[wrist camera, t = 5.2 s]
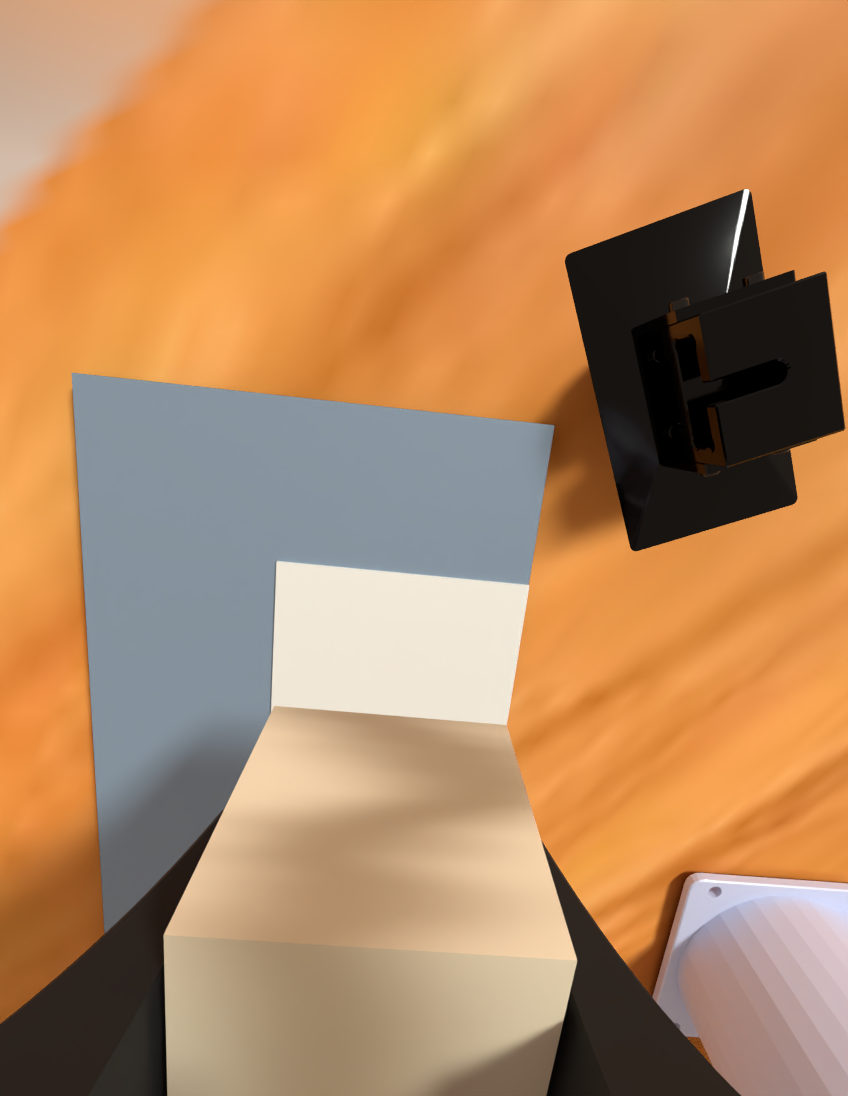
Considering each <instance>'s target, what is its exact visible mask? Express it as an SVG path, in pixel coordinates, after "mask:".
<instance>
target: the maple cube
mask: <svg viewBox="0 0 848 1096" xmlns="http://www.w3.org/2000/svg"><path fill="white" fill-rule="evenodd" d="M576 964H577V958H576V955H575V951H574V948H573V945H572V941H571V938H570V935H569V931H568V928H567V925H566V921H565V918H564V915H563V911H562V908H561V905H560V901H559V898H558V895H557V891H556V888H555V885H554V882H553V878H552V875H551V872H550V868H549V865H548V862H547V858H546V855H545V852H544V848H543V845H542V842H541V838H540V835H539V832H538V828H537V825H536V822H535V818H534V815H533V812H532V808H531V805H530V802H529V799H528V795H527V792H526V789H525V785H524V782H523V779H522V775H521V772H520V769H519V765H518V762H517V759H516V755H515V752H514V749H513V745H512V742H511V739H510V735H509V732H508V729H507V725H501V724H489V723H477V722H465V721H453V720H440V719H428V718H416V717H404V716H392V715H380V714H367V713H355V712H343V711H331V710H319V709H307V708H294V707H282V706H274V708H273V710H272V712H271V714H270V716H269V718H268V720H267V722H266V724H265V726H264V728H263V730H262V732H261V734H260V736H259V739H258V741H257V743H256V745H255V747H254V749H253V751H252V753H251V755H250V757H249V759H248V761H247V763H246V765H245V768H244V770H243V772H242V774H241V776H240V778H239V780H238V782H237V784H236V786H235V788H234V790H233V792H232V794H231V797H230V799H229V801H228V803H227V805H226V807H225V809H224V811H223V813H222V815H221V817H220V819H219V821H218V823H217V825H216V828H215V830H214V832H213V834H212V836H211V838H210V840H209V842H208V844H207V846H206V848H205V850H204V852H203V854H202V857H201V859H200V861H199V863H198V865H197V867H196V869H195V871H194V873H193V875H192V877H191V879H190V881H189V883H188V885H187V888H186V890H185V892H184V894H183V896H182V898H181V900H180V902H179V904H178V906H177V908H176V910H175V912H174V914H173V917H172V919H171V921H170V923H169V925H168V927H167V929H166V931H165V933H164V973H165V1015H166V1058H167V1096H546V1095H547V1091H548V1086H549V1082H550V1077H551V1073H552V1069H553V1064H554V1060H555V1056H556V1051H557V1047H558V1043H559V1038H560V1034H561V1030H562V1025H563V1021H564V1016H565V1012H566V1008H567V1003H568V999H569V995H570V990H571V986H572V982H573V977H574V973H575V969H576Z"/></svg>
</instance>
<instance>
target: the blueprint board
mask: <svg viewBox="0 0 848 1096" xmlns="http://www.w3.org/2000/svg"><path fill="white" fill-rule="evenodd" d="M72 386H73V403H74V420H75V437H76V454H77V471H78V488H79V506H80V523H81V540H82V557H83V574H84V591H85V608H86V625H87V642H88V659H89V676H90V693H91V711H92V728H93V745H94V762H95V779H96V796H97V813H98V830H99V847H100V864H101V881H102V898H103V916H104V933H106V932H107V931H108V930H109V929H110V928H111V927H112V926H113V925H114V924H116V923H117V922H118V921H119V920H120V919H121V918H122V917H123V916H124V915H125V914H126V913H127V912H128V911H129V910H130V909H131V908H132V907H133V906H134V905H135V904H136V903H137V902H138V901H139V900H140V899H141V898H142V897H143V896H144V895H145V894H146V893H147V892H148V891H149V890H150V889H151V888H152V887H153V886H154V885H155V884H156V883H157V882H158V881H159V880H160V879H161V877H162V876H163V875H164V874H165V873H166V872H167V871H168V870H169V869H170V868H171V867H172V866H173V865H174V864H175V863H176V862H177V861H178V860H179V858H180V857H181V856H182V855H183V854H184V853H185V852H186V851H187V850H188V849H189V847H190V846H191V845H192V844H193V843H194V842H195V841H196V840H197V839H198V837H199V836H200V835H201V834H202V833H203V832H204V831H205V829H206V828H207V827H208V826H209V825H210V824H211V823H212V821H213V820H214V819H215V818H216V817H217V816H218V814H219V813H220V812H221V811H222V810H223V809H225V807H226V805H227V803H228V801H229V799H230V797H231V794H232V792H233V790H234V788H235V786H236V784H237V782H238V780H239V778H240V776H241V774H242V772H243V770H244V768H245V765H246V763H247V761H248V759H249V757H250V755H251V753H252V751H253V749H254V747H255V745H256V743H257V741H258V739H259V736H260V734H261V732H262V730H263V728H264V726H265V724H266V722H267V720H268V718H269V716H270V714H271V712H272V710H273V708H274V706H282V707H294V708H307V709H319V710H331V711H343V712H355V713H367V714H380V715H392V716H404V717H416V718H428V719H440V720H453V721H465V722H477V723H489V724H501V725H507V721H508V715H509V708H510V702H511V696H512V690H513V684H514V678H515V671H516V665H517V659H518V653H519V647H520V641H521V634H522V628H523V622H524V616H525V610H526V604H527V598H528V591H529V580H530V574H531V568H532V562H533V555H534V549H535V543H536V537H537V531H538V524H539V518H540V512H541V506H542V500H543V494H544V487H545V481H546V475H547V469H548V463H549V457H550V450H551V444H552V438H553V432H554V426H555V425H547V424H538V423H529V422H520V421H511V420H501V419H492V418H483V417H474V416H465V415H455V414H446V413H437V412H428V411H419V410H409V409H400V408H391V407H382V406H373V405H363V404H354V403H345V402H336V401H327V400H317V399H308V398H299V397H290V396H281V395H271V394H262V393H253V392H244V391H235V390H225V389H216V388H207V387H198V386H189V385H179V384H170V383H161V382H152V381H143V380H133V379H124V378H115V377H106V376H97V375H87V374H78V373H72Z"/></svg>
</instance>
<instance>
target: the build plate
mask: <svg viewBox="0 0 848 1096" xmlns="http://www.w3.org/2000/svg"><path fill="white" fill-rule="evenodd" d="M565 264H566V269H567V273H568V278H569V282H570V286H571V291H572V295H573V299H574V304H575V308H576V312H577V317H578V321H579V326H580V330H581V334H582V339H583V343H584V347H585V352H586V356H587V360H588V365H589V369H590V373H591V378H592V382H593V387H594V391H595V395H596V400H597V404H598V408H599V413H600V417H601V421H602V426H603V430H604V434H605V439H606V443H607V448H608V452H609V456H610V461H611V465H612V469H613V474H614V478H615V482H616V487H617V491H618V496H619V500H620V504H621V509H622V513H623V517H624V522H625V526H626V530H627V535H628V539H629V543H630V547H631V549H632V550H633V551H639V550H642V549H646V548H649V547H652V546H656V545H659V544H662V543H666V542H669V541H672V540H676V539H679V538H682V537H686V536H689V535H692V534H696V533H699V532H702V531H706V530H709V529H713V528H716V527H719V526H723V525H726V524H729V523H733V522H736V521H739V520H743V519H746V518H749V517H753V516H756V515H759V514H763V513H766V512H769V511H773V510H776V509H779V508H783V507H786V506H789V505H793V504H794V503H795V502H796V501H797V491H796V485H795V478H794V472H793V465H792V458H791V452H790V449H791V448H794V447H797V446H800V445H803V444H806V443H809V442H812V441H816V440H817V439H819V438H822V437H825V436H828V435H831V434H834V433H837V432H841V431H844V429H845V421H844V412H843V404H842V396H841V387H840V379H839V371H838V362H837V354H836V346H835V337H834V329H833V321H832V313H831V304H830V296H829V288H828V279H827V273H826V272H825V271H824V272H821V273H818V274H815V275H812V276H810V277H807V278H804V279H801V280H798V281H796V279H795V271H794V270H792V271H789V272H786V273H783V274H780V275H777V276H775V277H772V278H769V279H766V280H765V276H764V272H763V267H762V260H761V254H760V247H759V241H758V234H757V227H756V221H755V214H754V208H753V201H752V195H751V192H750V191H749V190H747V189H744V190H741V191H738V192H736V193H733V194H730V195H727V196H725V197H722V198H719V199H717V200H714V201H711V202H708V203H706V204H703V205H700V206H698V207H695V208H692V209H689V210H687V211H684V212H681V213H679V214H676V215H673V216H670V217H668V218H665V219H662V220H660V221H657V222H654V223H651V224H649V225H646V226H643V227H641V228H638V229H635V230H633V231H630V232H627V233H624V234H622V235H619V236H616V237H614V238H611V239H608V240H605V241H603V242H600V243H597V244H595V245H592V246H589V247H586V248H584V249H581V250H578V251H576V252H573V253H570V254H568V255H567V257H566V259H565Z"/></svg>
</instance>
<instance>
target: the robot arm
mask: <svg viewBox="0 0 848 1096" xmlns="http://www.w3.org/2000/svg"><path fill="white" fill-rule="evenodd" d="M223 811H224V809H223V810H222V811H221V812H220V813H219V814H218V816H217V817H216V818H215V819H214V820H213V821H212V823H211V824H210V825H209V826H208V827H207V828H206V829H205V831H204V832H203V833H202V834H201V835H200V836H199V837H198V839H197V840H196V841H195V842H194V843H193V844H192V845H191V846H190V847H189V849H188V850H187V851H186V852H185V853H184V854H183V855H182V856H181V857H180V858H179V860H178V861H177V862H176V863H175V864H174V865H173V866H172V867H171V868H170V869H169V870H168V871H167V872H166V873H165V874H164V875H163V876H162V877H161V879H160V880H159V881H158V882H157V883H156V884H155V885H154V886H153V887H152V888H151V889H150V890H149V891H148V892H147V893H146V894H145V895H144V896H143V897H142V898H141V899H140V900H139V901H138V902H137V903H136V904H135V905H134V906H133V907H132V908H131V909H130V910H129V911H128V912H127V913H126V914H125V915H124V916H123V917H122V918H121V919H120V920H119V921H118V922H117V923H116V924H114V925H113V926H112V927H111V928H110V929H109V930H108V931H107V932H106V933H105V934H104V935H103V936H102V937H101V938H100V939H99V940H98V941H97V942H96V943H95V944H94V945H92V946H91V947H90V948H89V949H88V950H87V951H86V952H85V953H84V954H83V955H81V956H80V957H79V958H78V959H77V960H76V961H75V962H74V963H73V964H71V965H70V966H69V967H68V968H67V969H66V970H65V971H63V972H62V973H61V974H60V975H59V976H58V977H57V978H55V979H54V980H53V981H52V982H51V983H50V984H48V985H47V986H46V987H45V988H44V989H42V990H41V991H40V992H39V993H38V994H37V995H35V996H34V997H33V998H32V999H31V1000H29V1001H28V1002H27V1003H26V1004H25V1005H23V1006H22V1007H21V1008H20V1009H18V1010H17V1011H16V1012H15V1013H13V1014H12V1015H11V1016H10V1017H8V1018H7V1019H6V1020H5V1021H3V1022H2V1023H1V1024H0V1096H167V1058H166V1015H165V973H164V933H165V931H166V929H167V927H168V925H169V923H170V921H171V919H172V917H173V914H174V912H175V910H176V908H177V906H178V904H179V902H180V900H181V898H182V896H183V894H184V892H185V890H186V888H187V885H188V883H189V881H190V879H191V877H192V875H193V873H194V871H195V869H196V867H197V865H198V863H199V861H200V859H201V857H202V854H203V852H204V850H205V848H206V846H207V844H208V842H209V840H210V838H211V836H212V834H213V832H214V830H215V828H216V825H217V823H218V821H219V819H220V817H221V815H222V813H223ZM541 842H542V841H541ZM542 845H543V848H544V852H545V855H546V858H547V862H548V865H549V868H550V872H551V875H552V878H553V882H554V885H555V888H556V891H557V895H558V898H559V901H560V905H561V908H562V911H563V915H564V918H565V921H566V925H567V928H568V931H569V935H570V938H571V941H572V945H573V948H574V951H575V955H576V958H577V964H576V969H575V973H574V977H573V982H572V986H571V990H570V995H569V999H568V1003H567V1008H566V1012H565V1016H564V1021H563V1025H562V1030H561V1034H560V1038H559V1043H558V1047H557V1051H556V1056H555V1060H554V1064H553V1069H552V1073H551V1077H550V1082H549V1086H548V1091H547V1095H546V1096H848V883H835V882H821V881H807V880H793V879H779V878H765V877H751V876H737V875H724V874H710V873H694V874H692V875H690V876H689V877H688V878H687V879H686V881H685V883H684V887H683V890H682V894H681V897H680V901H679V904H678V908H677V911H676V915H675V919H674V922H673V926H672V929H671V933H670V936H669V940H668V944H667V947H666V951H665V954H664V958H663V961H662V965H661V968H660V972H659V976H658V979H657V983H656V986H655V990H654V993H653V997H652V996H651V995H650V994H649V993H648V991H647V990H646V989H645V988H644V986H643V985H642V984H641V983H640V981H639V980H638V979H637V978H636V976H635V975H634V974H633V972H632V971H631V970H630V969H629V967H628V966H627V965H626V963H625V962H624V961H623V959H622V958H621V957H620V956H619V954H618V953H617V952H616V950H615V949H614V947H613V946H612V945H611V943H610V942H609V941H608V939H607V938H606V937H605V935H604V934H603V932H602V931H601V930H600V928H599V927H598V925H597V924H596V922H595V921H594V920H593V918H592V917H591V915H590V914H589V913H588V911H587V910H586V908H585V907H584V905H583V904H582V902H581V901H580V900H579V898H578V897H577V895H576V894H575V892H574V891H573V889H572V888H571V886H570V885H569V883H568V881H567V880H566V878H565V877H564V875H563V874H562V872H561V871H560V869H559V868H558V866H557V864H556V863H555V861H554V860H553V858H552V857H551V855H550V853H549V852H548V850H547V849H546V847H545V845H544V844H543V842H542ZM686 1037H699V1038H700V1040H701V1042H702V1044H703V1046H704V1049H705V1051H706V1053H707V1055H708V1057H709V1059H710V1062H711V1064H712V1065H711V1064H710V1063H709V1062H708V1061H707V1060H706V1059H705V1058H704V1056H703V1055H702V1054H701V1053H700V1052H699V1051H698V1050H697V1049H696V1048H695V1047H694V1045H693V1044H692V1043H691V1042H690V1041H689V1040H688V1039H687V1038H686Z"/></svg>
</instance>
